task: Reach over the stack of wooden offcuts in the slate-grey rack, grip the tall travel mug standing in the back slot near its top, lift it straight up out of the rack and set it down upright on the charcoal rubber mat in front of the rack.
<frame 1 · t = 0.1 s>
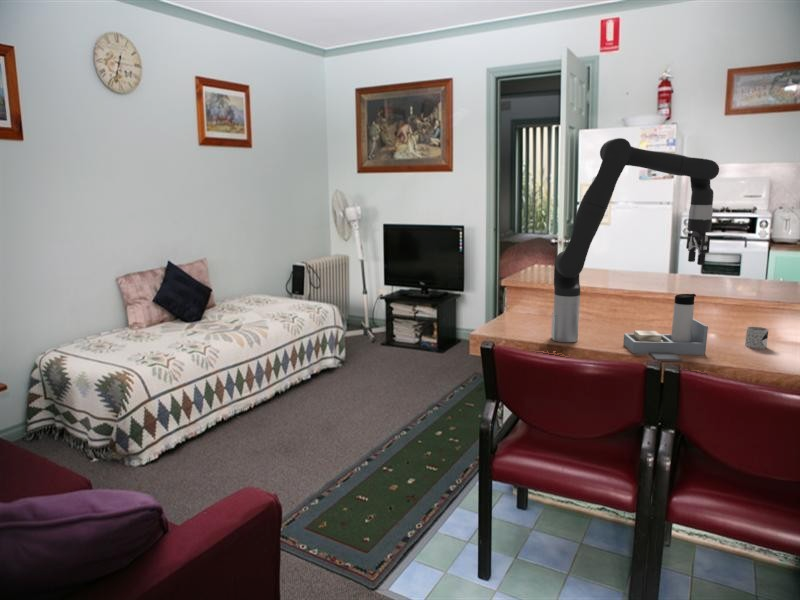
hand: (696, 263, 218), 29 cm above the table, tool pointing down, fingers open, 8 cm apart
notched grey stone block: (755, 346, 219), on the table
mat: (664, 358, 203), on the table
rack: (662, 349, 214), on the table
travel mug: (680, 350, 213), resting in rack
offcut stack: (647, 349, 214), resting in rack
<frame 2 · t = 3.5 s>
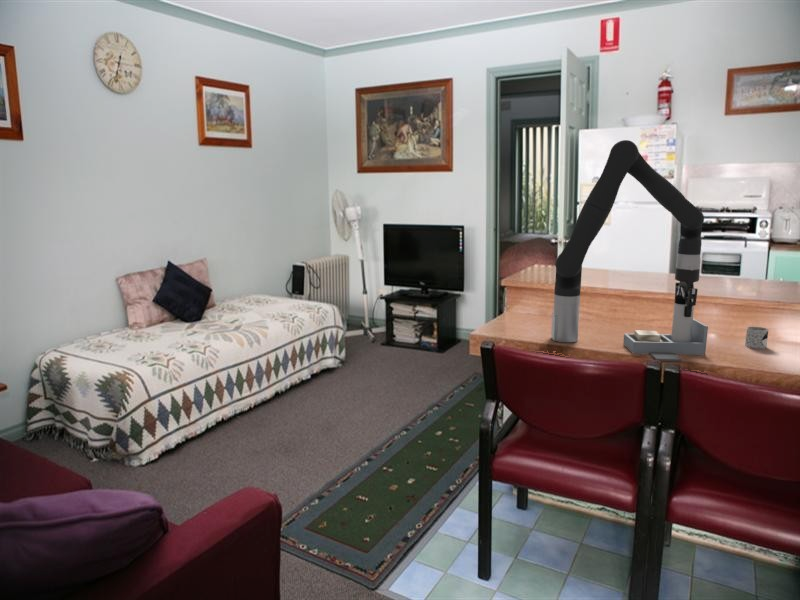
hand: (683, 314, 211), 13 cm above the table, tool pointing down, fingers closed on travel mug, 6 cm apart
travel mug: (680, 350, 213), resting in rack, touching gripper
everything else where it was.
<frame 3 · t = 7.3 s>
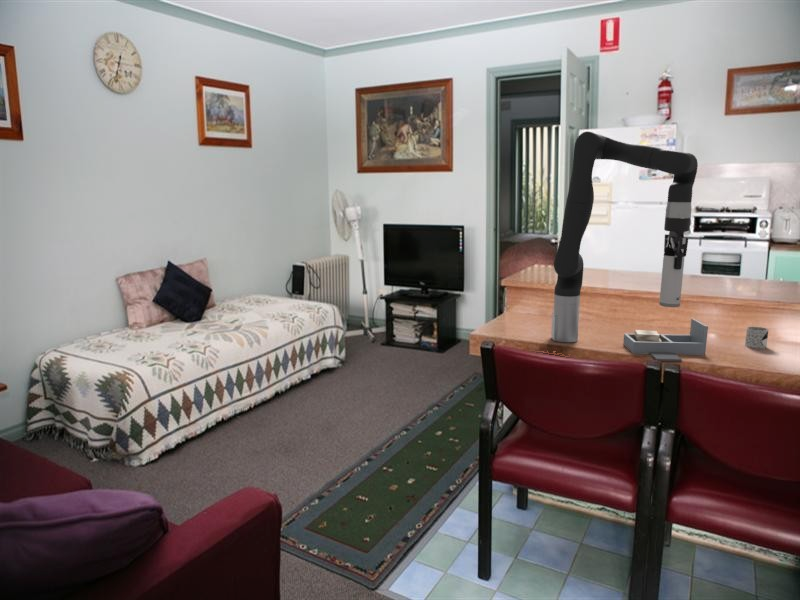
hand: (673, 267, 198), 30 cm above the table, tool pointing down, fingers closed on travel mug, 6 cm apart
travel mug: (669, 306, 201), point 18 cm above the table, touching gripper
everything else where it was.
when the fingers open (15 cm above the table, at t = 11.4 s): travel mug drops 1 cm, resting on mat.
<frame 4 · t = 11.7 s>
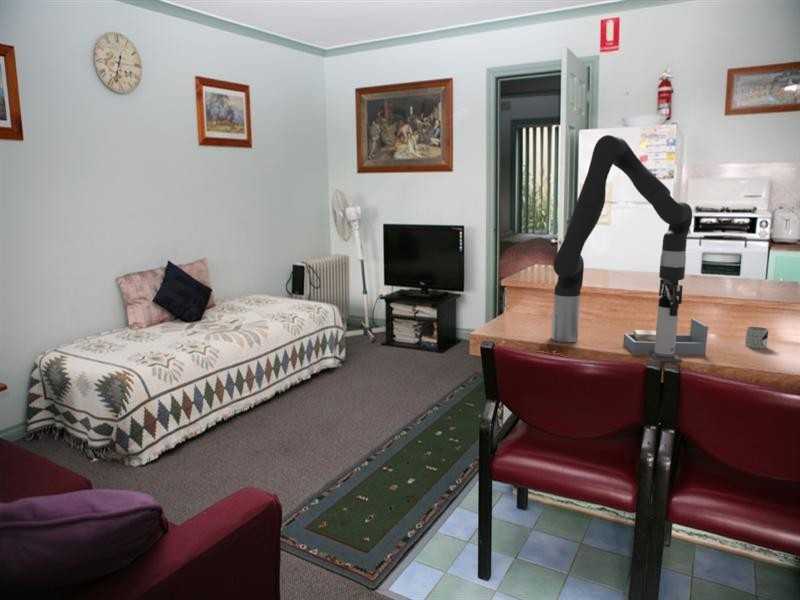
hand: (668, 313, 200), 15 cm above the table, tool pointing down, fingers open, 8 cm apart
travel mug: (664, 356, 203), point 1 cm above the table, touching mat
everything else where it was.
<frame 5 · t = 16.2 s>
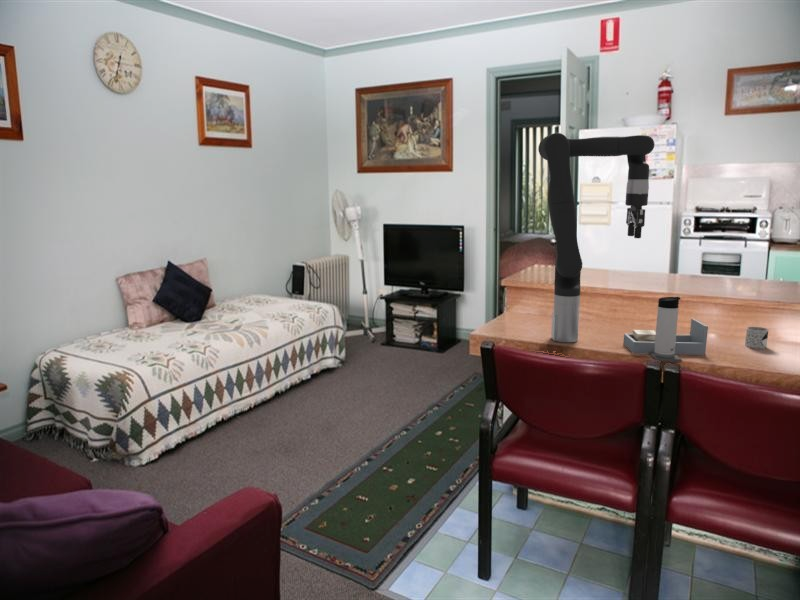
hand: (634, 237, 223), 38 cm above the table, tool pointing down, fingers open, 8 cm apart
at the end: travel mug inside the target area on the mat (0.1 cm from its centre), point 0.6 cm above the mat's base; travel mug tilted 0°; the gripper is holding nothing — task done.
